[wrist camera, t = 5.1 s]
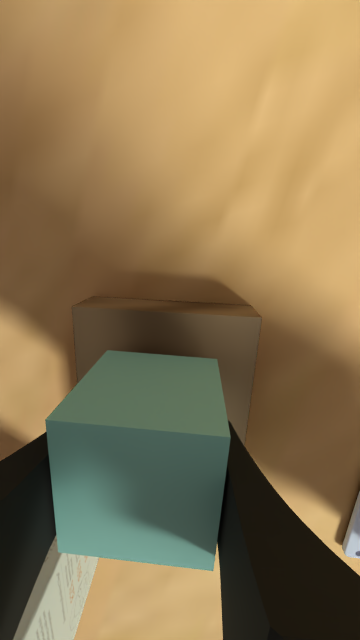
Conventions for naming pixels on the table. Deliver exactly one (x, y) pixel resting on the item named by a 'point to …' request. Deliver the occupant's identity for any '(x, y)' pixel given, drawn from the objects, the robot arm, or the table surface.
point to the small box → (57, 597)
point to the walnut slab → (175, 339)
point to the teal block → (141, 460)
